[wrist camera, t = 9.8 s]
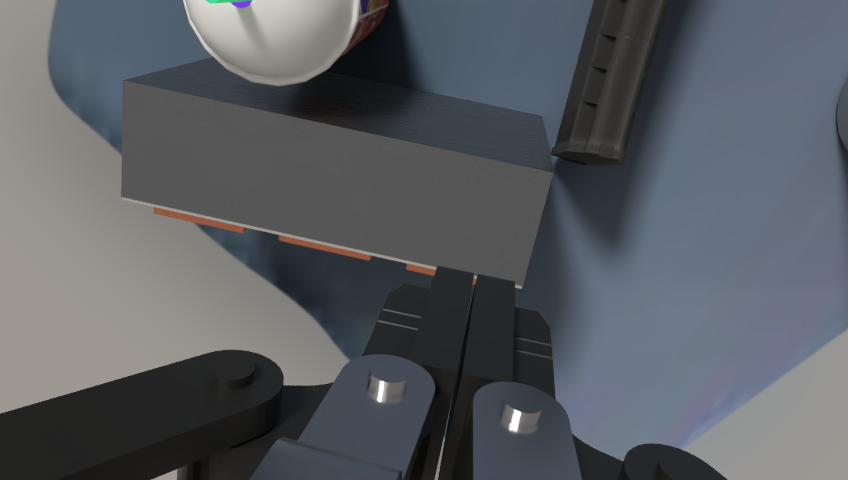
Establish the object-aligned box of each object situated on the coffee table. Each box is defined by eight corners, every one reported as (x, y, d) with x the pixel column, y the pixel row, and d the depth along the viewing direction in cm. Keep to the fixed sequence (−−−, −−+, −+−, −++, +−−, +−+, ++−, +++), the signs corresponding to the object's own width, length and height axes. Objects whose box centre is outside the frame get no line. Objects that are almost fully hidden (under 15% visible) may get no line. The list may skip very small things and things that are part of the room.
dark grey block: (541, 116, 44) (553, 172, 31) (518, 204, 47) (521, 291, 34) (234, 51, 45) (123, 80, 32) (227, 141, 48) (121, 202, 35)
